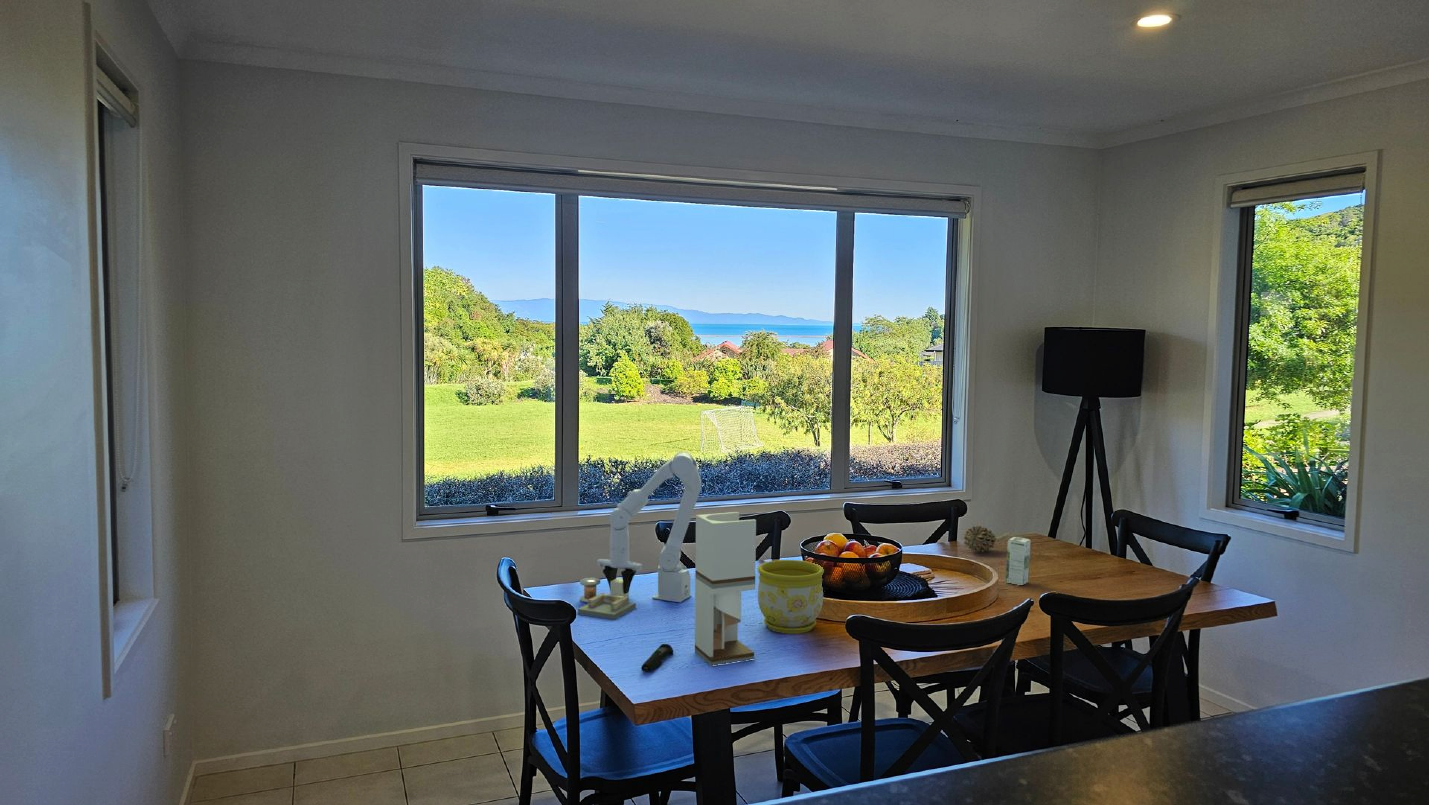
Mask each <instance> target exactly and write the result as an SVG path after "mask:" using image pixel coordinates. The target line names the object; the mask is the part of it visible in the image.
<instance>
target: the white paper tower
mask: <svg viewBox="0 0 1429 805" xmlns="http://www.w3.org/2000/svg"><path fill="white" fill-rule="evenodd" d="M756 540H757V519H754V518H753V519H744V520H743V519H741V520H740V512H739V511H730V512H719V513H706V514H704V513H703V514H696V515H695V574H694V576H695V579H694V580H695V581H694V582H695V585H694V588H695V592H694V596H695V598H694V599H695V602H694V603H695V604H694V607H695V608H694V653H695V654H696V655H697V656H698V655H699V656H700V657H699V656H698V657H699V658H701V659H702V658H703V659H704V660H705V661H707V662H708V663H707V664H708V665H709V664H710V665H711V666H713V665H718V664H726V663H732V662H737V661H746V660H750V659H754V660H755V651H753V650H752V649H751V648H749V647H748V646H746V645H745V644H744V643H742V642H741V641H740V640H739V639H738V636H739V635H738V634H739V632H738V631H739V627H738V625H739V623H741V622H742V592H745V591H746V592H747V591H753V590H755V591H756V558H757V555H756V553H757V552H756V551H757V548H756V547H757V544H756V543H757V541H756ZM703 659H702V660H703ZM704 660H703V661H704ZM705 661H704V662H705ZM710 665H709V666H710ZM711 666H710V667H711Z"/></svg>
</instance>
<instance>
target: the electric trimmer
mask: <svg viewBox="0 0 1429 805" xmlns="http://www.w3.org/2000/svg"><path fill="white" fill-rule="evenodd" d="M669 655H670V656H671V655H674V650H673V646H671V645H670V644H669V643H662V644H660V646H659V647H658V648H656V650H655V651H654V652H653V653H652V654H651V655H650V657H649V658H647V660H646V661H644V663H643V664H642V665H641V668H640V669H641V671H643V672H652V671H654V670H655V669H657V668H659V667H660V666H662V664H663V661H664V660H665V659H666V658H667V657H668V656H669Z"/></svg>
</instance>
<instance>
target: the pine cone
mask: <svg viewBox="0 0 1429 805" xmlns="http://www.w3.org/2000/svg"><path fill="white" fill-rule="evenodd" d="M1010 534H1011V533H1010V532H1005V533H1004V534H1002V535H1001V536H997V537H996V534H994V532H992V530H990V529H989V530H988V528H987V527H984V526H983V527H982V525H976V526H975V525H973V526H972V527H970V528H967V529H966V532H964V533H963V535H964V537H962V539H963V541H964V542H963V544H964V545H965V546H967V547H968V549H969V550H971V551H974V552H976V551H977V552H980V551H982V552H990V550H991V548H992V549H994V548H995V546H996V542H998V541H1003V540H1005V539H1007V538H1011V536H1010ZM985 550H986V551H985Z"/></svg>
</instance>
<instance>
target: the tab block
mask: <svg viewBox="0 0 1429 805" xmlns="http://www.w3.org/2000/svg"><path fill="white" fill-rule="evenodd" d="M609 592H610V594H611V595H618V596H625V597H629V594H630V591H629V592H628V593H626V594H624V593H623V578H622V577H621V578H619V577H616V579H614V580H612V581H610V587H609Z"/></svg>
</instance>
